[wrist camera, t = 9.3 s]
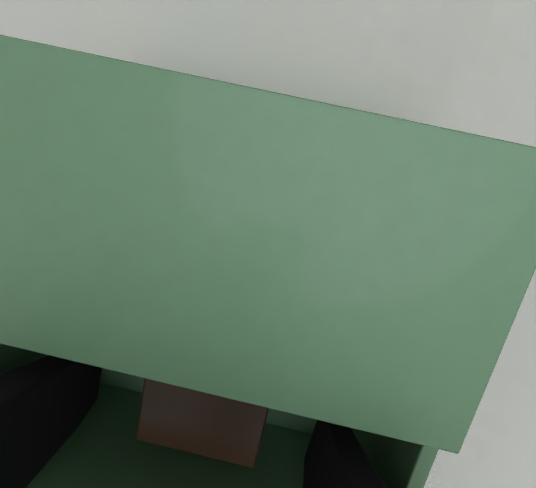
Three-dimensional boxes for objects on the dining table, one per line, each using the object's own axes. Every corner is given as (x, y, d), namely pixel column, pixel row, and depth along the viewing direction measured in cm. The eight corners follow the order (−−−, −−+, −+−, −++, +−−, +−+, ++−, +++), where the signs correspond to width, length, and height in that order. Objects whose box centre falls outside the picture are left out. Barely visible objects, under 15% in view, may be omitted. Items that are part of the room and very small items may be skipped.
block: (265, 390, 15) (254, 469, 11) (176, 369, 15) (134, 440, 11) (285, 307, 14) (280, 362, 10) (190, 285, 14) (150, 331, 10)
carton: (341, 442, 16) (375, 659, 9) (93, 382, 16) (-59, 544, 9) (429, 159, 13) (587, 152, 6) (122, 94, 13) (-72, 14, 6)
